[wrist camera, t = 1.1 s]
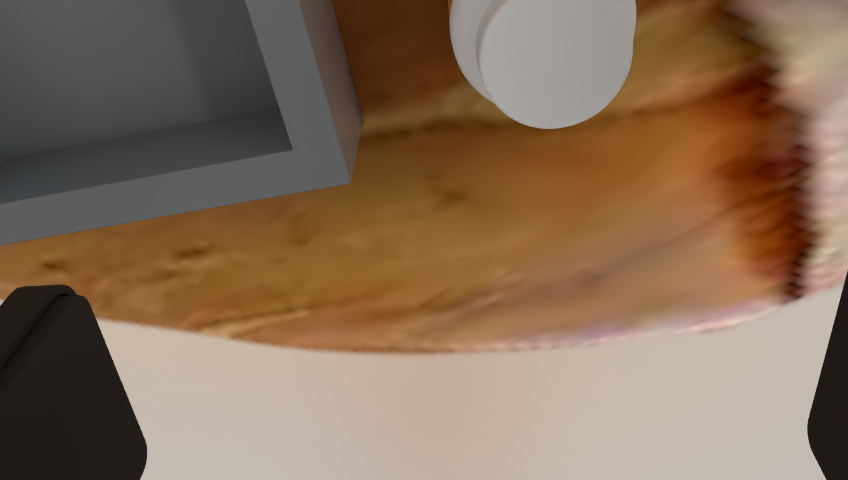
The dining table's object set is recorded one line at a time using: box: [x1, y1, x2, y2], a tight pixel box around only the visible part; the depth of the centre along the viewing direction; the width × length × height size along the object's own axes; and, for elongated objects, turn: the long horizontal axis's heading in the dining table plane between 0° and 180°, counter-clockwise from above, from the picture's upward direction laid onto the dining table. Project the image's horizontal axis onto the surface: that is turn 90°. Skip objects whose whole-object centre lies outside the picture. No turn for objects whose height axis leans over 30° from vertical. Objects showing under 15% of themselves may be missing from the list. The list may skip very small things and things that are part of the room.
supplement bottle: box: [448, 0, 636, 129], centre depth 23 cm, size 5×5×10 cm
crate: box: [0, 0, 363, 245], centre depth 26 cm, size 16×13×6 cm
